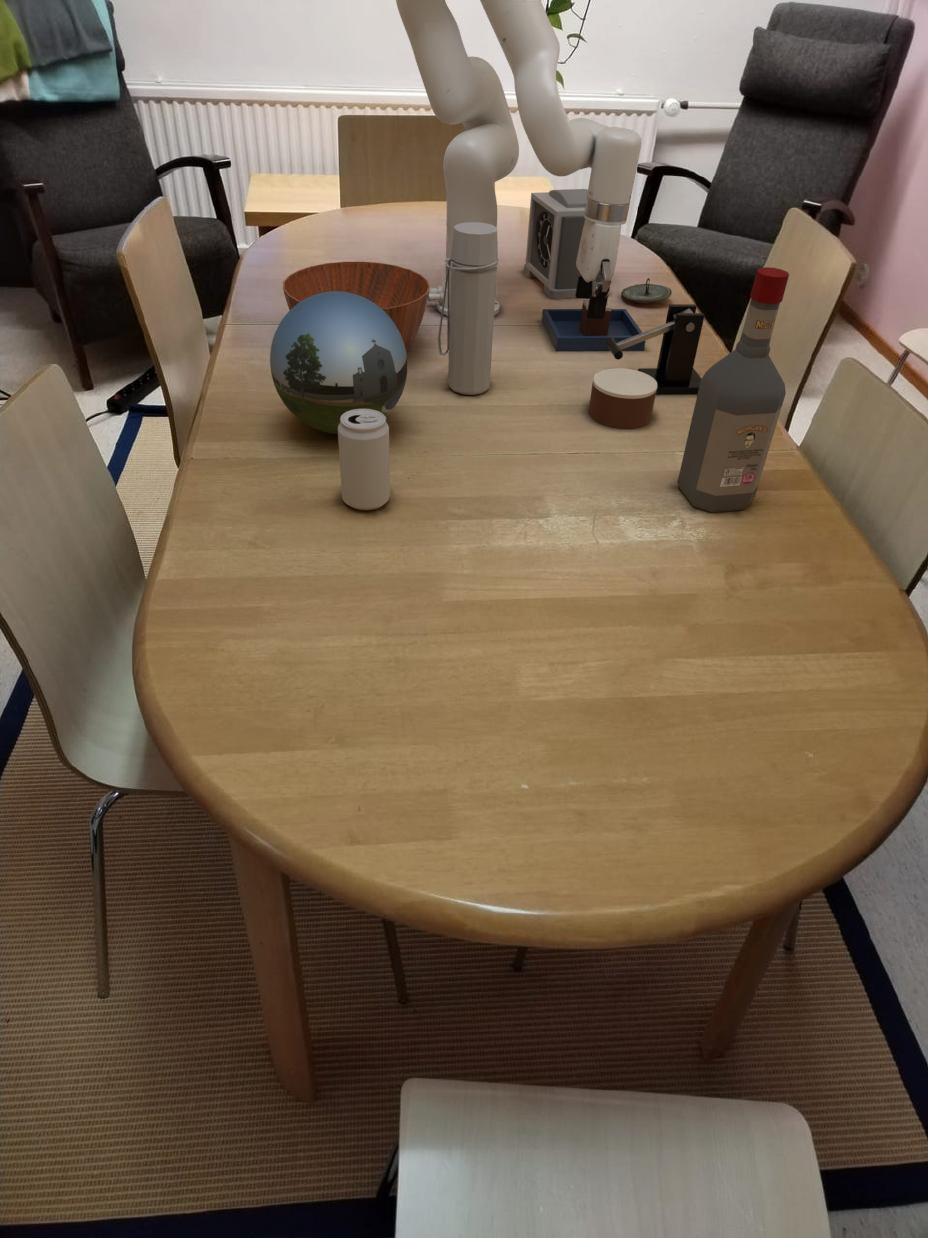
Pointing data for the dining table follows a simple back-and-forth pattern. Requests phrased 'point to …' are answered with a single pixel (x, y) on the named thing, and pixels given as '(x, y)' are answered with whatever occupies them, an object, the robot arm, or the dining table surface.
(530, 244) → the alarm clock
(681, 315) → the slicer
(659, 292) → the lid
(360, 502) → the beverage can
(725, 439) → the liquor
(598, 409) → the cake
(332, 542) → the dining table surface
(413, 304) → the bowl
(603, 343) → the tray
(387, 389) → the decorative sphere
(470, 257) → the water bottle
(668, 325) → the lever
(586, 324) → the cake slice
